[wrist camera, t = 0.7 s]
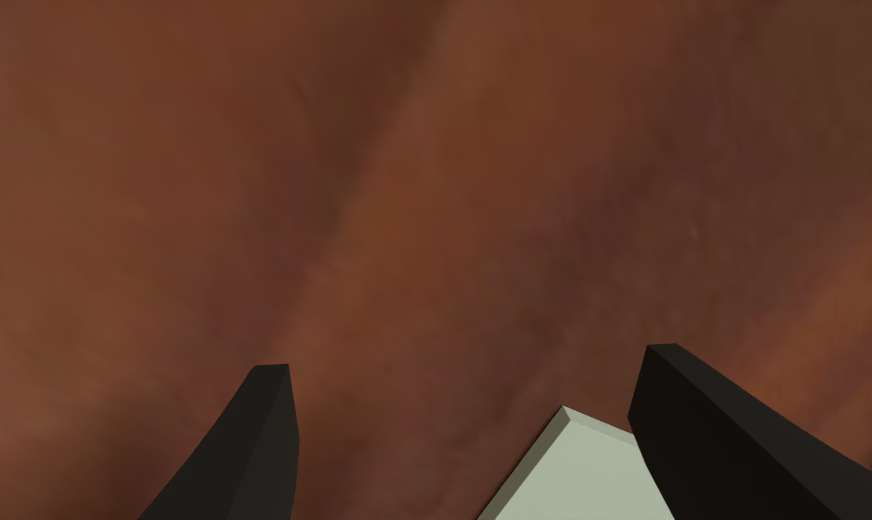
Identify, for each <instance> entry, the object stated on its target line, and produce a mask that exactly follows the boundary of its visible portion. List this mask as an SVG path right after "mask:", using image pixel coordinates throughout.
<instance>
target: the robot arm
mask: <svg viewBox="0 0 872 520" xmlns="http://www.w3.org/2000/svg"><path fill="white" fill-rule="evenodd" d="M628 420H629V423H630V426H631V429H632V431H633V434H634V437H635V440H636V442H637V445H638V447H639V450H640V452H641V455H642V457H643V460H644V462H645V465H646V467H647V469H648V470H649V472H650V474H651V476H652V478H653V480H654V482H655V484H656V486H657V488H658V490H659V491H660V493H661V495H662V497H663V499H664V501H665V503H666V505H667V506H668V508H669V510H670V512H671V514H672V516H673V518H674V519H675V520H872V471H870V470H868V469H866V468H864V467H863V466H861V465H859V464H858V463H856V462H854V461H853V460H851V459H849V458H847V457H846V456H844V455H842V454H841V453H839V452H838V451H836V450H834V449H833V448H831V447H830V446H828V445H826V444H825V443H823V442H822V441H820V440H818V439H817V438H815V437H814V436H812V435H810V434H809V433H807V432H806V431H804V430H803V429H801V428H800V427H798V426H796V425H795V424H793V423H792V422H790V421H789V420H787V419H786V418H784V417H783V416H781V415H780V414H778V413H777V412H775V411H774V410H772V409H771V408H769V407H768V406H767V405H765V404H764V403H762V402H761V401H759V400H758V399H756V398H755V397H753V396H752V395H751V394H749V393H748V392H746V391H745V390H743V389H742V388H741V387H739V386H738V385H736V384H735V383H733V382H732V381H731V380H729V379H728V378H726V377H725V376H723V375H722V374H721V373H719V372H718V371H716V370H715V369H713V368H712V367H711V366H709V365H708V364H706V363H705V362H703V361H702V360H701V359H699V358H698V357H696V356H695V355H693V354H692V353H690V352H689V351H687V350H686V349H684V348H682V347H681V346H679V345H678V344H676V343H673V344H654V345H647V348H646V352H645V355H644V359H643V362H642V366H641V370H640V373H639V377H638V381H637V384H636V388H635V391H634V395H633V399H632V402H631V406H630V409H629V413H628ZM299 440H300V439H299V432H298V425H297V418H296V412H295V405H294V398H293V392H292V385H291V378H290V371H289V365H288V364H276V365H257V366H255V367H254V368H253V369H252V370H251V371H250V372H249V374H248V375H247V377H246V378H245V380H244V381H243V383H242V384H241V386H240V388H239V389H238V391H237V392H236V394H235V395H234V397H233V398H232V399H231V401H230V402H229V404H228V405H227V407H226V408H225V410H224V411H223V412H222V414H221V415H220V417H219V418H218V420H217V421H216V422H215V424H214V425H213V426H212V428H211V429H210V430H209V432H208V433H207V434H206V436H205V437H204V438H203V440H202V441H201V442H200V444H199V445H198V446H197V448H196V449H195V450H194V452H193V453H192V454H191V456H190V457H189V458H188V459H187V461H186V462H185V463H184V464H183V466H182V467H181V468H180V469H179V471H178V472H177V473H176V474H175V475H174V477H173V478H172V479H171V480H170V481H169V483H168V484H167V485H166V486H165V487H164V489H163V490H162V491H161V492H160V493H159V495H158V496H157V497H156V498H155V499H154V501H153V502H152V503H151V504H150V505H149V506H148V508H147V509H146V510H145V511H144V512H143V513H142V514H141V515H140V517H139V518H138V519H137V520H290V515H291V510H292V505H293V500H294V494H295V488H296V477H297V466H298V453H299Z"/></svg>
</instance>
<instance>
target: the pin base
mask: <svg viewBox="0 0 872 520" xmlns="http://www.w3.org/2000/svg"><path fill="white" fill-rule="evenodd" d="M477 520H675V519H674V518H673V516H672V514H671V512H670V510H669V508H668V506H667V505H666V503H665V501H664V499H663V497H662V495H661V493H660V491H659V490H658V488H657V486H656V484H655V482H654V480H653V478H652V476H651V474H650V472H649V470H648V469H647V467H646V465H645V462H644V460H643V457H642V455H641V452H640V450H639V447H638V445H637V442H636V440H635V437H634V435H632V434H630V433H628V432H625V431H623V430H620V429H618V428H616V427H613V426H611V425H608V424H606V423H604V422H601V421H599V420H596V419H594V418H592V417H589V416H587V415H584V414H582V413H579V412H577V411H575V410H572V409H570V408H567V407H565V406H562V407H561V408H560V410H559V411H558V412H557V414H556V415H555V416H554V418H553V419H552V420H551V422H550V423H549V424H548V426H547V427H546V428H545V430H544V431H543V432H542V434H541V435H540V436H539V438H538V439H537V440H536V442H535V443H534V444H533V446H532V447H531V448H530V450H529V451H528V452H527V454H526V455H525V456H524V458H523V459H522V460H521V462H520V463H519V464H518V466H517V467H516V468H515V470H514V471H513V472H512V474H511V475H510V476H509V478H508V479H507V480H506V482H505V483H504V484H503V486H502V487H501V488H500V490H499V491H498V492H497V494H496V495H495V496H494V498H493V499H492V500H491V502H490V503H489V504H488V506H487V507H486V508H485V510H484V511H483V512H482V514H481V515H480V516H479V518H478V519H477Z"/></svg>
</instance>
